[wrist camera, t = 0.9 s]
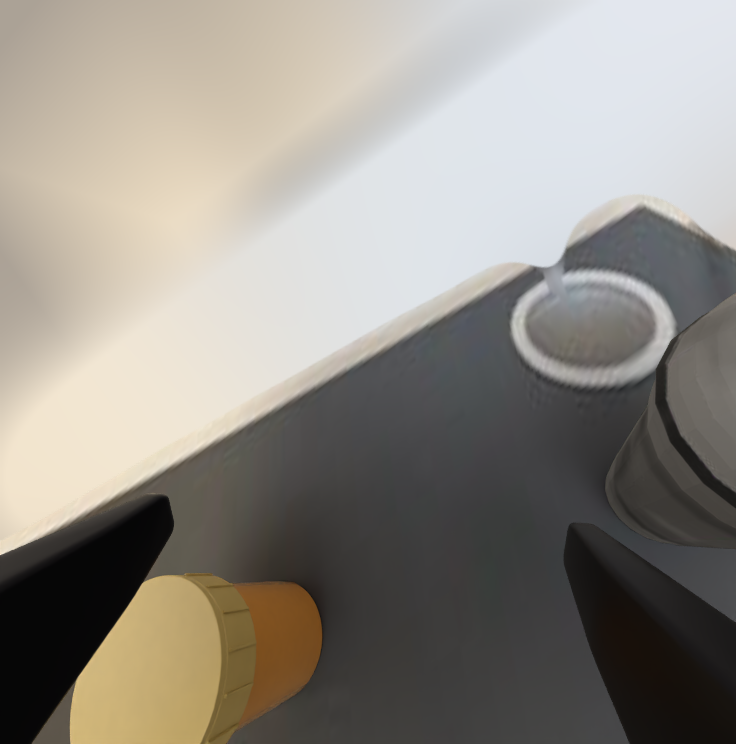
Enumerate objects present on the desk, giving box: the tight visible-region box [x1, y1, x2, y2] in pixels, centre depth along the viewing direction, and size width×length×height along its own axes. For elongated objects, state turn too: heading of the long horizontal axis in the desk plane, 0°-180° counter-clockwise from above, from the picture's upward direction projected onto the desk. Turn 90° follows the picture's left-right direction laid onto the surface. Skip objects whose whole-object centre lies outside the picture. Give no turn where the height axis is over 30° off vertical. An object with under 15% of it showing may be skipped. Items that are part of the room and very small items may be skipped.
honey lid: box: [70, 573, 257, 744], centre depth 13 cm, size 6×6×2 cm
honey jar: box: [232, 581, 322, 733], centre depth 17 cm, size 6×6×9 cm
